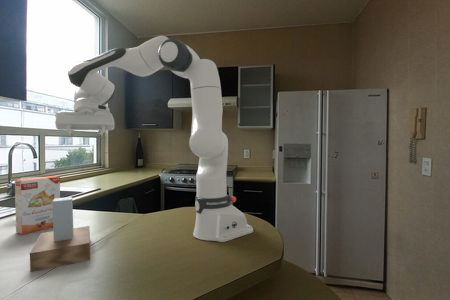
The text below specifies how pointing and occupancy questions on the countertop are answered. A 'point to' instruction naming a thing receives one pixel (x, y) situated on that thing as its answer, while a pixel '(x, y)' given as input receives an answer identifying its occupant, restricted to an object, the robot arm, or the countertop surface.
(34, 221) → the cracker box
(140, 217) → the countertop surface
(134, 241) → the countertop surface
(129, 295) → the countertop surface
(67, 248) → the walnut wood block
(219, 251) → the countertop surface
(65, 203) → the block
